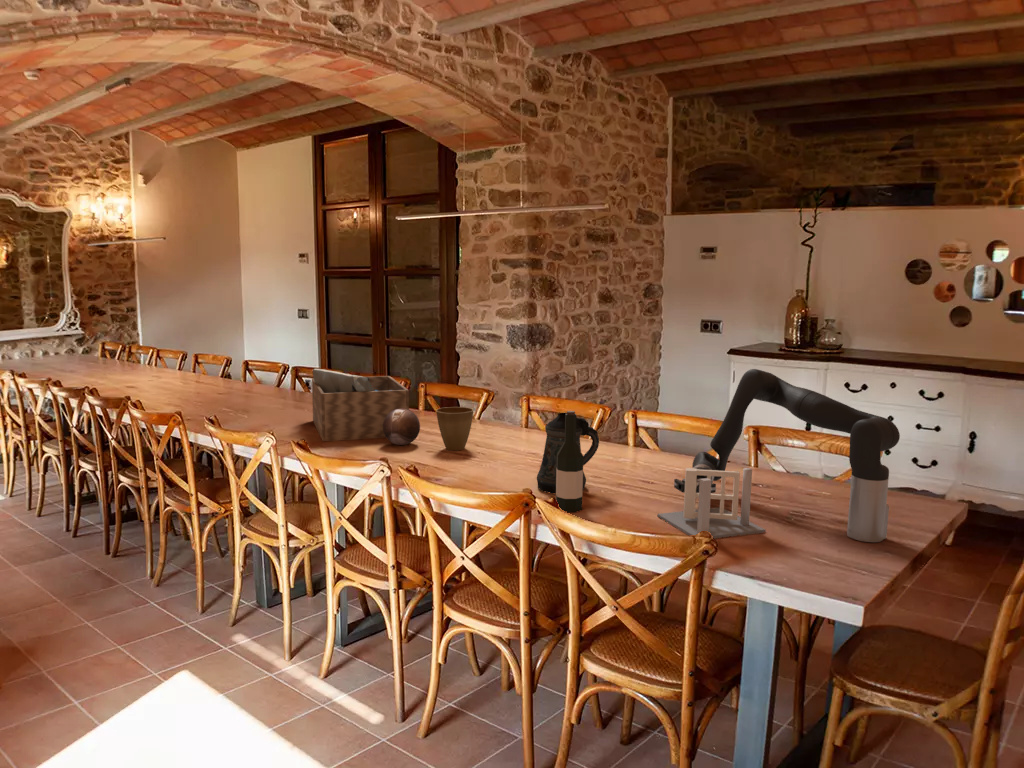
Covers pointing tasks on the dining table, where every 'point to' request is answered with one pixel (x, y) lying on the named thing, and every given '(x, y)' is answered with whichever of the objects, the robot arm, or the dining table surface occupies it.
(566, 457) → the wine bottle
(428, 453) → the dining table surface
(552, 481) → the beer stein
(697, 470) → the gate
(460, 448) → the plant pot
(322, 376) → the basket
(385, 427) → the wooden sphere
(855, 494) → the robot arm
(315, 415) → the crate
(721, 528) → the gate frame
